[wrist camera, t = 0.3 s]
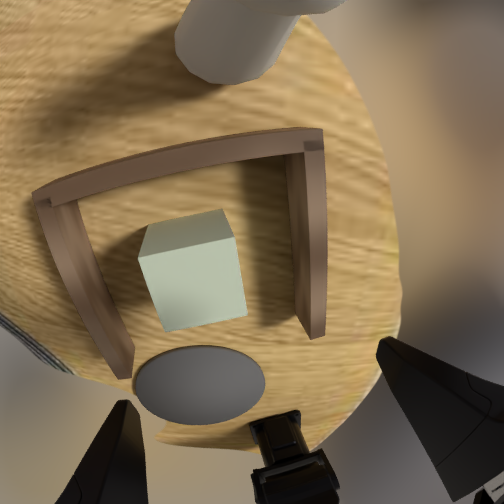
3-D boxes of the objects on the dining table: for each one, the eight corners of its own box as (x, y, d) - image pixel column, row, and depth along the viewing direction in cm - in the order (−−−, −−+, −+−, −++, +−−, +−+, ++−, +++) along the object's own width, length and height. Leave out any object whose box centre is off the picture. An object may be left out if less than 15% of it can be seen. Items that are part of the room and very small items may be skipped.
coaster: (268, 408, 29) (269, 411, 29) (162, 427, 28) (162, 431, 27) (256, 331, 24) (258, 334, 23) (114, 358, 22) (113, 362, 21)
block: (233, 273, 21) (247, 314, 16) (167, 287, 20) (165, 332, 16) (222, 208, 19) (234, 237, 14) (148, 224, 18) (137, 258, 13)
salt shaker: (169, 87, 14) (130, -3, 3) (182, 7, 12) (194, -138, 1) (264, 95, 16) (416, 59, 4) (274, 18, 13) (402, -82, 2)
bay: (308, 309, 24) (324, 335, 21) (122, 349, 21) (118, 379, 18) (298, 127, 17) (322, 128, 14) (55, 179, 15) (31, 192, 12)
